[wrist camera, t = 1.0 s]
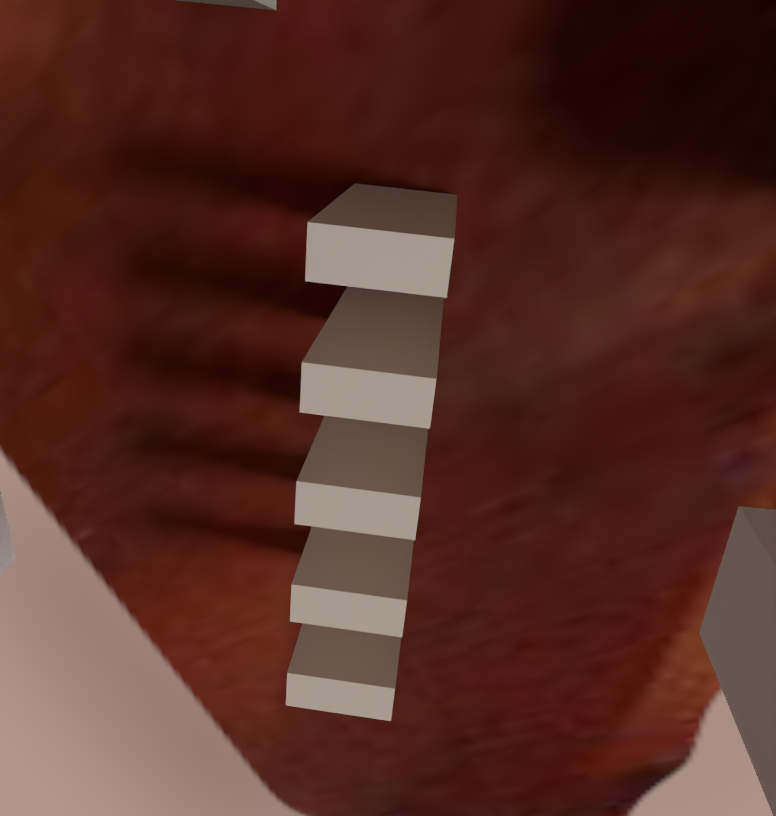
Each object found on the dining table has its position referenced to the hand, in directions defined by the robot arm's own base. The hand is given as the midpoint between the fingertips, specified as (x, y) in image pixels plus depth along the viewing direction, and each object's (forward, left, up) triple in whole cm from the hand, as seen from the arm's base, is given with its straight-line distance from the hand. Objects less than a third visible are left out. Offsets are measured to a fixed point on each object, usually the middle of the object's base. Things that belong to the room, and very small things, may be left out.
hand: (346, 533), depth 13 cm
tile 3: (+2, -1, -21) cm, 21 cm away
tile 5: (+11, -1, -21) cm, 23 cm away
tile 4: (+6, -1, -21) cm, 22 cm away
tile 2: (-3, -1, -21) cm, 21 cm away
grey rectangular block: (+15, -1, -21) cm, 26 cm away
